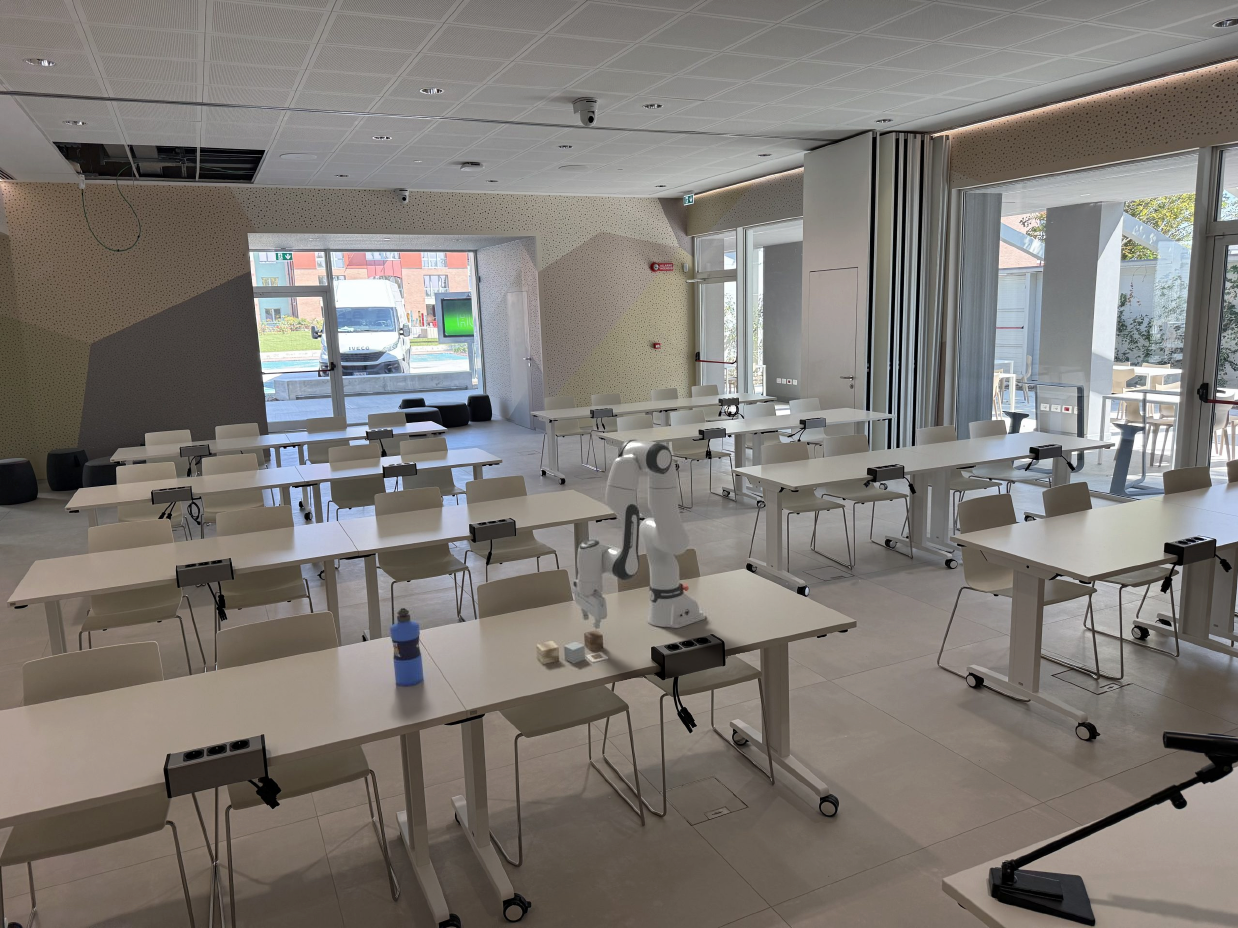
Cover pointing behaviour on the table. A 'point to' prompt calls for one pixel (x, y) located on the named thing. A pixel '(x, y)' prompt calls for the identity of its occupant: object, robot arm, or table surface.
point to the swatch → (596, 657)
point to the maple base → (547, 652)
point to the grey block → (574, 652)
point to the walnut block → (593, 640)
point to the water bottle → (406, 650)
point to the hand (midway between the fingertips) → (591, 623)
